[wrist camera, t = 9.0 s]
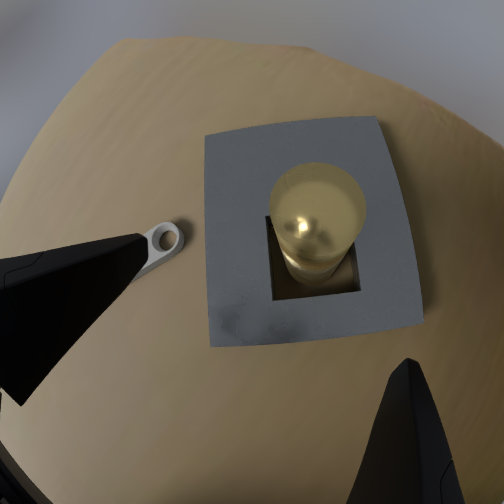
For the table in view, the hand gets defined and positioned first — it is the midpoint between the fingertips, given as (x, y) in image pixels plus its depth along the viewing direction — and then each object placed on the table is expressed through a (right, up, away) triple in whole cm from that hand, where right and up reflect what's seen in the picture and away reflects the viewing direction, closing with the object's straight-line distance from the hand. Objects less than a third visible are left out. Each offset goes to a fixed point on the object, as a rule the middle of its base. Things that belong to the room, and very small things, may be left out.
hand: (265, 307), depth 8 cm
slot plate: (+4, +4, +12) cm, 13 cm away
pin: (+4, +1, +11) cm, 12 cm away
